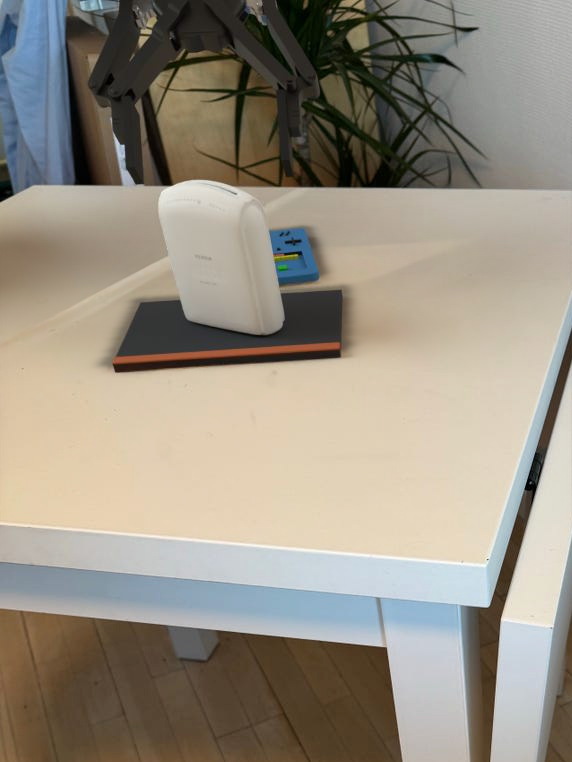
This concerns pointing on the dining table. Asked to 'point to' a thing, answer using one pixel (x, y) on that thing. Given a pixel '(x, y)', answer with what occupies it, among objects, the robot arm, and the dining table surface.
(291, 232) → the handheld gaming device
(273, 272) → the photo printer
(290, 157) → the robot arm
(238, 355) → the mat
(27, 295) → the dining table surface
